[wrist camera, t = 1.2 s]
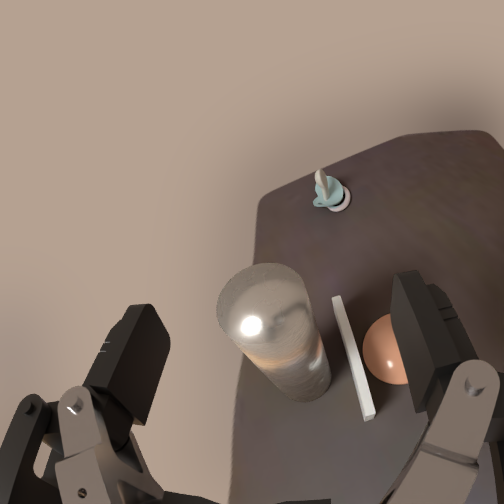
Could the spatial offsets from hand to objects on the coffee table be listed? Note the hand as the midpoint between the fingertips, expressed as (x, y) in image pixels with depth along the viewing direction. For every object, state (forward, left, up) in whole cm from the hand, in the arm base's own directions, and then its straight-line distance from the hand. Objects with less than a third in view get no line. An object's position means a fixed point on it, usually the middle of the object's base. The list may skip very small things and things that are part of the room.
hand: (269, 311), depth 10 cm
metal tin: (0, -6, -26) cm, 26 cm away
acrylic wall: (-6, -4, -26) cm, 27 cm away
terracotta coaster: (-11, -2, -26) cm, 28 cm away
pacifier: (-20, -28, -26) cm, 43 cm away
